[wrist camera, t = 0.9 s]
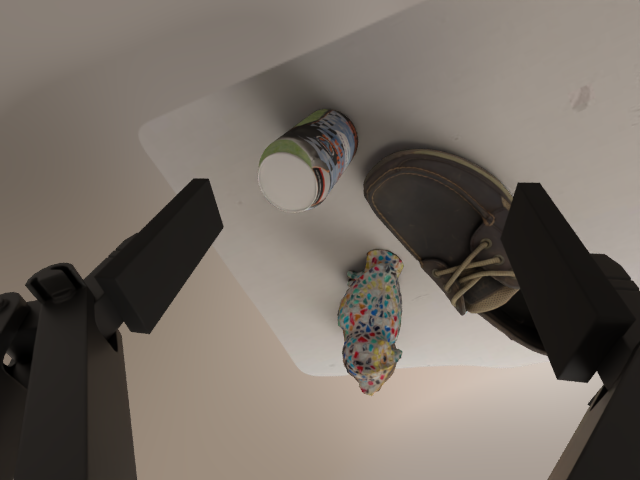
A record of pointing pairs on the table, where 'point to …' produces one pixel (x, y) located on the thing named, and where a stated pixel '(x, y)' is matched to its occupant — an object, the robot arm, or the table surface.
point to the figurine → (372, 320)
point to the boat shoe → (454, 233)
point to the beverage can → (307, 161)
